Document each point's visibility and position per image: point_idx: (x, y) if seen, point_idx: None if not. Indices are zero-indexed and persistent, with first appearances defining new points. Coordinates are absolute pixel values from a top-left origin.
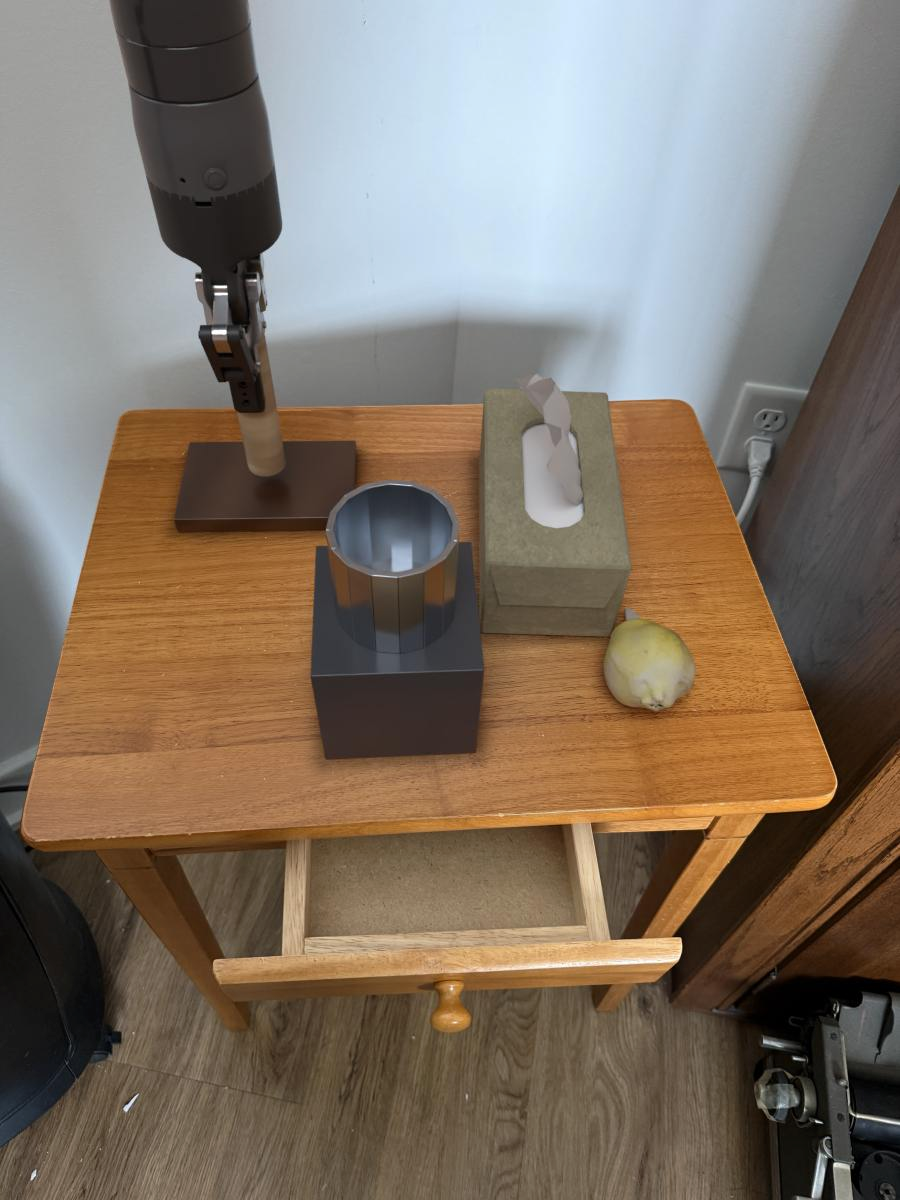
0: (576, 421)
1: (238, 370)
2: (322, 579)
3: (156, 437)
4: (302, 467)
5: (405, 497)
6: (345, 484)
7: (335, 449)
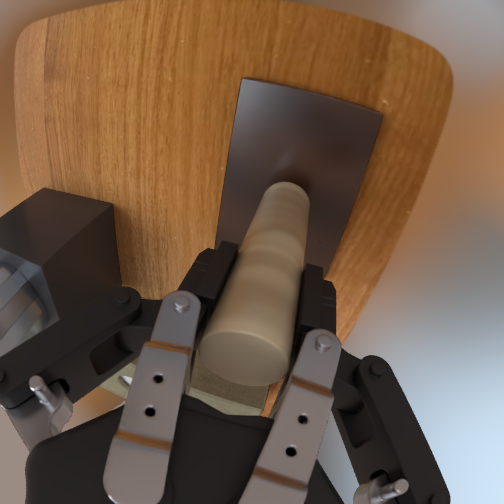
0: None
1: (112, 335)
2: (19, 261)
3: (422, 78)
4: None
5: None
6: None
7: None
